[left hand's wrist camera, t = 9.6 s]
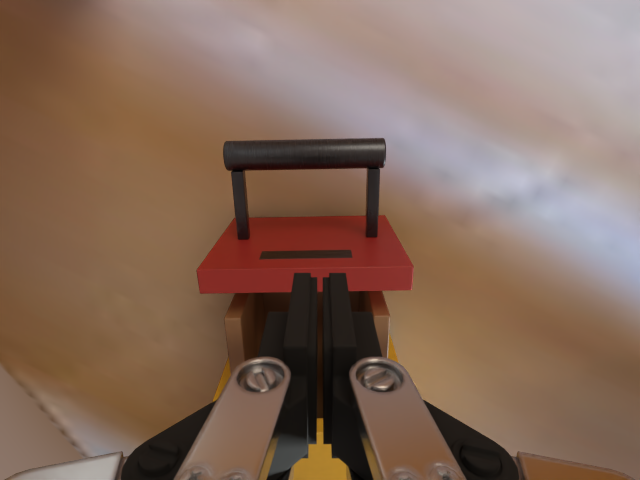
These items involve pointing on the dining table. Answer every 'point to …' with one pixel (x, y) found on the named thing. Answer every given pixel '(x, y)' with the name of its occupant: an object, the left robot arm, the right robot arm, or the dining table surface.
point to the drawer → (302, 246)
